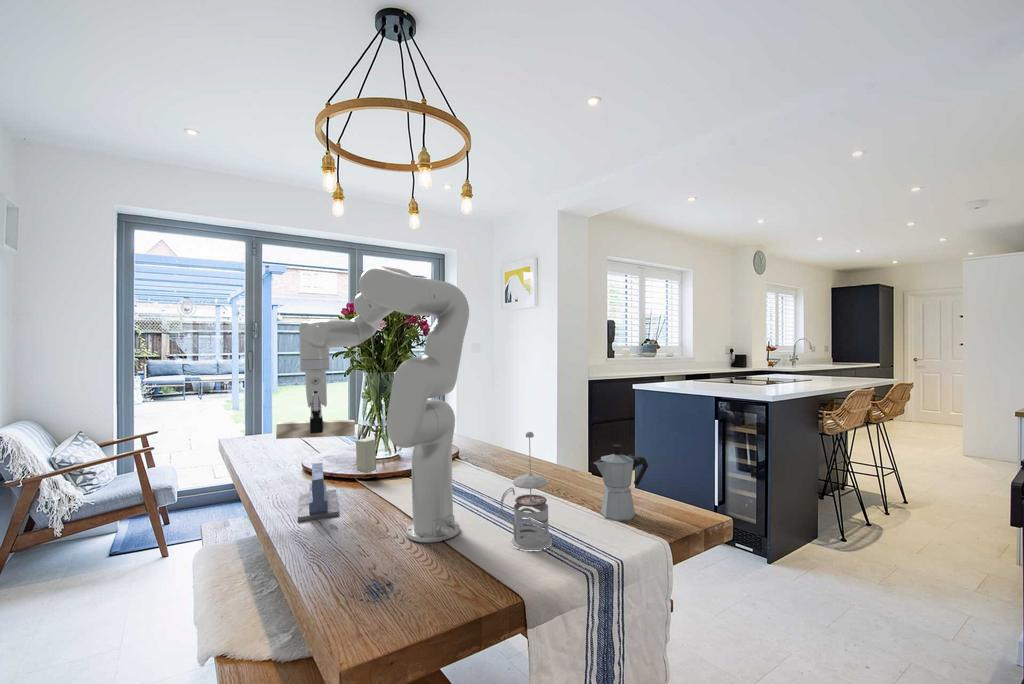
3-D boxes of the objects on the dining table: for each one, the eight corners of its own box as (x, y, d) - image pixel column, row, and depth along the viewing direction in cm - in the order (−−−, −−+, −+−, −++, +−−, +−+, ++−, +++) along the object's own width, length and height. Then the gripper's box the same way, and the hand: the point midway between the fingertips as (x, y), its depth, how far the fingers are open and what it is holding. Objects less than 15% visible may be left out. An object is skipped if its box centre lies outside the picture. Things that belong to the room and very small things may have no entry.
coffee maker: (601, 523, 119) (600, 450, 118) (588, 511, 127) (587, 442, 127) (656, 517, 122) (655, 446, 121) (640, 505, 130) (639, 439, 130)
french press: (557, 550, 104) (554, 435, 104) (503, 553, 103) (501, 437, 103) (549, 532, 114) (547, 426, 114) (500, 535, 113) (498, 428, 113)
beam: (276, 438, 129) (276, 423, 129) (276, 436, 132) (277, 422, 132) (354, 435, 137) (355, 421, 137) (353, 433, 139) (354, 419, 139)
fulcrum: (339, 515, 127) (338, 478, 127) (297, 522, 123) (296, 483, 123) (335, 493, 146) (335, 460, 146) (299, 498, 142) (298, 464, 142)
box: (377, 477, 162) (376, 439, 161) (366, 481, 158) (365, 441, 158) (366, 475, 164) (365, 437, 164) (356, 478, 161) (355, 440, 161)
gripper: (330, 366, 128) (332, 435, 128) (328, 363, 143) (330, 425, 143) (299, 367, 125) (301, 438, 125) (300, 364, 140) (302, 428, 140)
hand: (316, 431), depth 134 cm, fingers closed on beam, 3 cm apart
